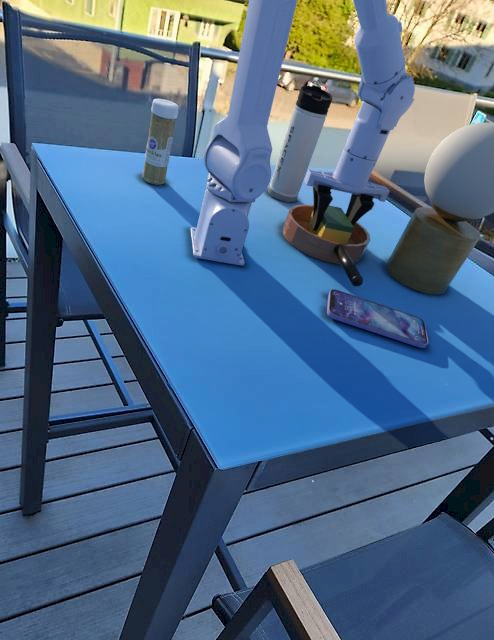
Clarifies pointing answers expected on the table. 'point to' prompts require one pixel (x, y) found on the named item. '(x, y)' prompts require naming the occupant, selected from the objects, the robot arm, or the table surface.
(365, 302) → the smartphone
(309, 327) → the table surface
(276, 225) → the table surface
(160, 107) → the sprinkles bottle
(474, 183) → the lamp
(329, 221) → the sponge
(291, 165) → the travel mug
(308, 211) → the pan
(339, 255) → the pan handle
